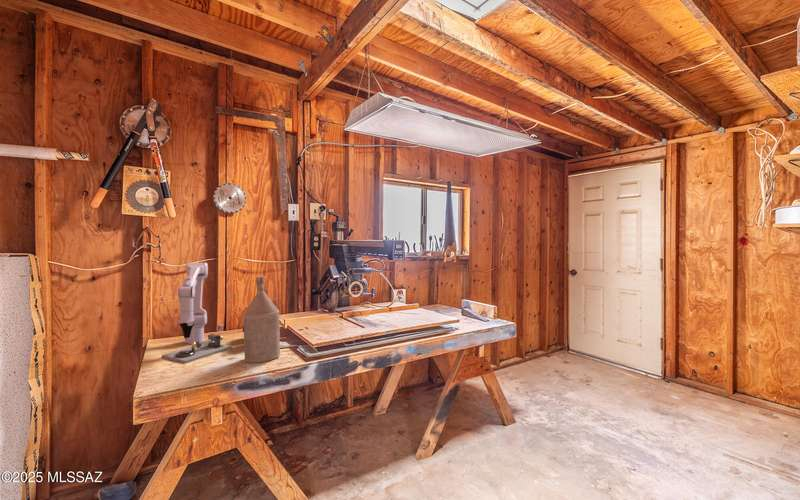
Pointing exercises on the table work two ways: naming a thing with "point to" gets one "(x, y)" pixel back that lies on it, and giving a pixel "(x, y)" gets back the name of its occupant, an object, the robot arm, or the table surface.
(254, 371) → the table surface
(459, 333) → the table surface
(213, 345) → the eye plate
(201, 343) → the headed rod
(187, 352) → the handwheel
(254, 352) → the grey brown bottle
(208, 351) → the board
